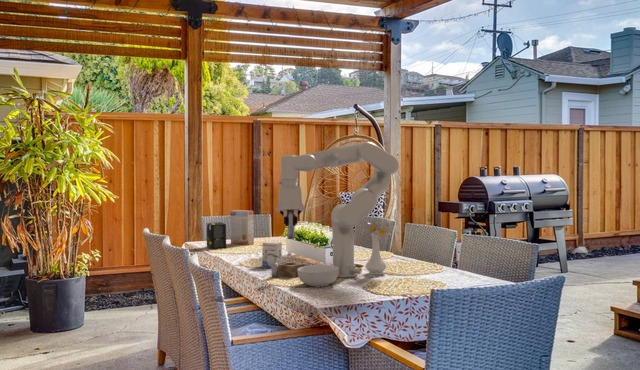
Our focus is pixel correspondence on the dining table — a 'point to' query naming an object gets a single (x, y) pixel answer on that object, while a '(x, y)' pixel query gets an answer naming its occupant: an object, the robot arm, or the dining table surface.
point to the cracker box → (242, 227)
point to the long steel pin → (290, 224)
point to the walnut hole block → (289, 269)
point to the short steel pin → (274, 269)
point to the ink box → (271, 253)
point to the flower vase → (376, 244)
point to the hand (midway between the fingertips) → (290, 225)
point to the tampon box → (216, 235)
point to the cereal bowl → (318, 274)
